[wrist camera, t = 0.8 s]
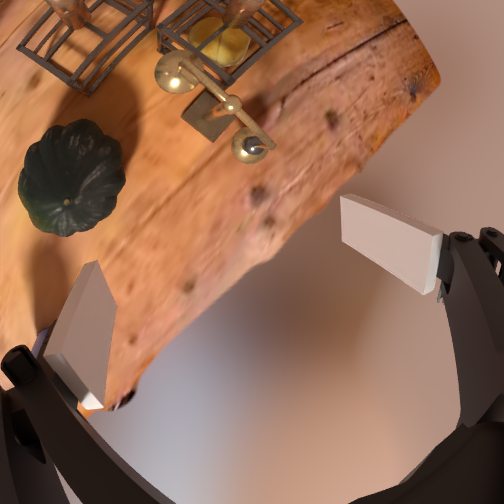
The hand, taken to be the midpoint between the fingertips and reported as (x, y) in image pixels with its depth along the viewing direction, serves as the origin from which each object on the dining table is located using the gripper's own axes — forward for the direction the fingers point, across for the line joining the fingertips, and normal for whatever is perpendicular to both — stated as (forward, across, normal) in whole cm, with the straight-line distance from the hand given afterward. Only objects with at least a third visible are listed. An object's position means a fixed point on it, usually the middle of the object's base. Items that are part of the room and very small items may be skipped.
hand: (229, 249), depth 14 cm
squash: (+28, -15, +5) cm, 32 cm away
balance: (+28, +5, +8) cm, 30 cm away
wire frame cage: (+28, +8, +20) cm, 35 cm away
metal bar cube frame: (+28, -10, +25) cm, 39 cm away
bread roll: (+29, +8, +20) cm, 36 cm away
